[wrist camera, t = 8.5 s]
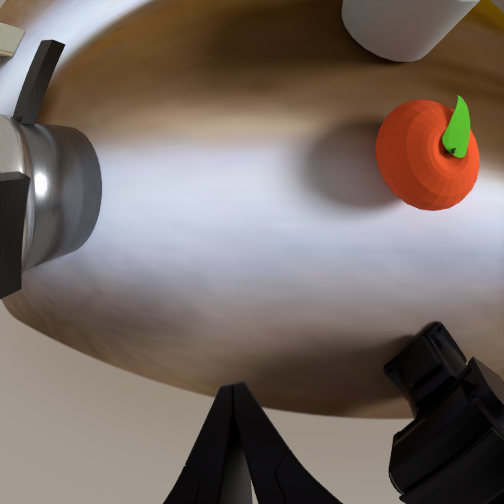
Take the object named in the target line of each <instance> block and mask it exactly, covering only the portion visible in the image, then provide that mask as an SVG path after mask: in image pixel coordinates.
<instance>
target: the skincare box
mask: <svg viewBox="0 0 504 504" xmlns="http://www.w3.org/2000/svg"><path fill="white" fill-rule="evenodd" d="M24 33H25V31H24V30H22V29H19V28H16V27H13V26H10V25H7V24H4V23H0V56H7V57H13V55H14V53H15V51H16V49H17V47H18V45H19V43H20V41H21V39H22V37H23V35H24Z"/></svg>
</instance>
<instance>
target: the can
mask: <svg viewBox="0 0 504 504" xmlns="http://www.w3.org/2000/svg"><path fill="white" fill-rule="evenodd" d="M479 1H480V0H343V4H342V14H341V16H342V19H343V22H344V25H345V27H346V29H347V30H348V32H349V33H350V34H351V36H352V37H353V39H355V40H356V41H357V42H358V43H359V44H361V45H362V46H363V47H364V48H365V49H367V50H369V51H370V52H372V53H374V54H376V55H378V56H379V57H383V58H386V59H389V60H392V61H398V62H411V61H415V60H419V59H421V58H422V57H424V56H425V55H426V54H427V53H429V52H430V51H431V50H432V49H433V47H434V46H435V45H436V44H437V43H438V42H439V41H440V40H441V39H442V38H443V37H444V36H445V35H446V34H447V33H448V32H449V31H450V30H451V29H452V28H453V27H454V26H455V25H456V24H457V23H458V22H459V21H460V20H461V19H462V18H463V17H464V16H465V15H466V14H467V13H468V12H469V11H470V10H471V9H472V8H473V7H474V6H475V5H476V4H477V3H478V2H479Z"/></svg>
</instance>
